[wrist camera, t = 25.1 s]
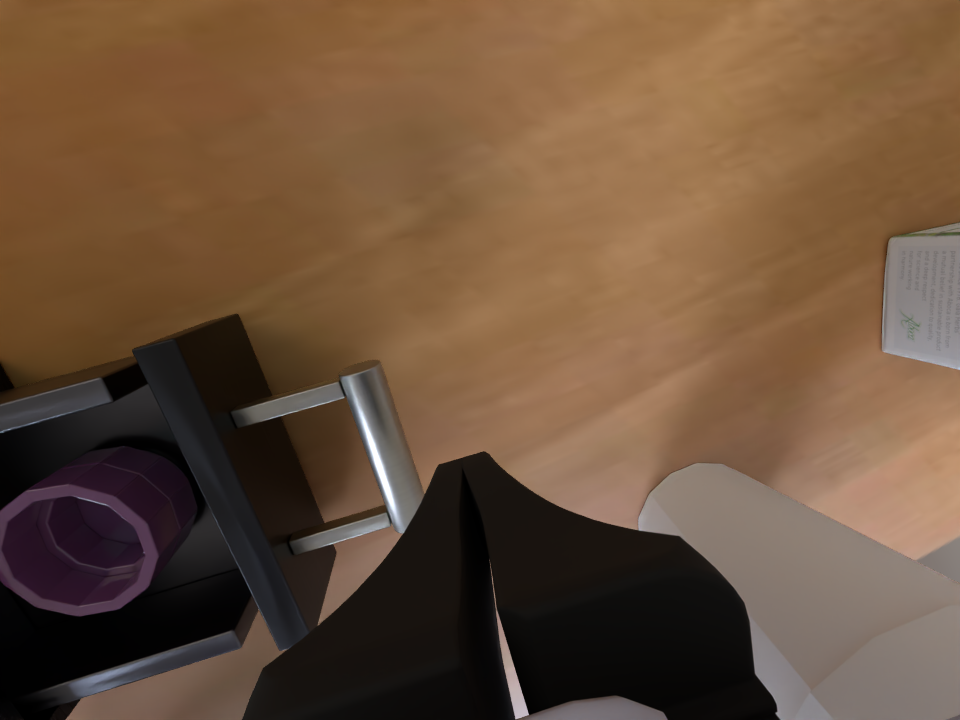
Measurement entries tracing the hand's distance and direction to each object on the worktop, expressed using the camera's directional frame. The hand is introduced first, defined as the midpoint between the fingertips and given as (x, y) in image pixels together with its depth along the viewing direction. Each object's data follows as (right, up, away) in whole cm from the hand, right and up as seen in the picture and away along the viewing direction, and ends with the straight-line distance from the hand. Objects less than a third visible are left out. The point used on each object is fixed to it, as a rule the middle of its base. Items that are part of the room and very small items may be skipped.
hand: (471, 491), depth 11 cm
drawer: (-11, -1, +6) cm, 13 cm away
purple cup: (-13, -2, +5) cm, 14 cm away
